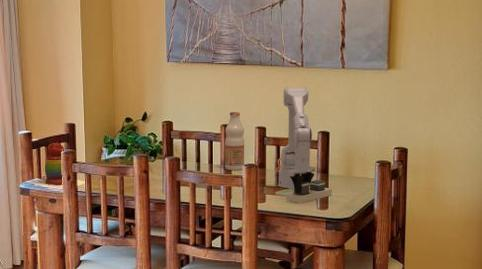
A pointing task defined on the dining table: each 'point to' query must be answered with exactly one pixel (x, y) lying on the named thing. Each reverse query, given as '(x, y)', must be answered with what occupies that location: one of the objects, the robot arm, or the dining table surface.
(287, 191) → the tray
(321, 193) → the strip
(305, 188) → the plug
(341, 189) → the dining table surface
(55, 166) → the stacking bear
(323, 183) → the twin plug
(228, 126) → the fruit juice
